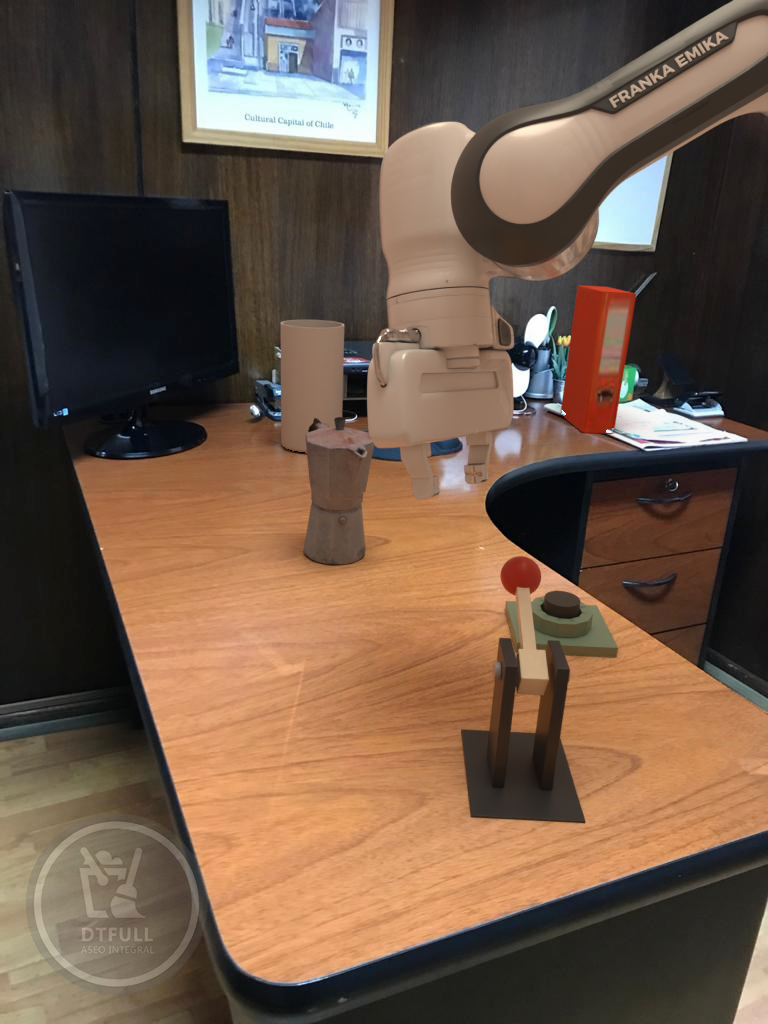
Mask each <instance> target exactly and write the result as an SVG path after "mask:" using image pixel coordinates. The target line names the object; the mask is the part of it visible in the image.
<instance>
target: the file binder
mask: <svg viewBox="0 0 768 1024" xmlns="http://www.w3.org/2000/svg"><path fill="white" fill-rule="evenodd" d="M636 299H637V293H635V292H630V291H626V290H622V289H618V288H614V287H609V286H599V285H598V286H597V285H581V284H579V285H577V288H576V295H575V303H574V310H573V317H572V325H571V333H570V340H569V346H568V347H569V348H568V354H567V361H566V370H565V376H564V384H563V385H564V386H563V391H562V400H561V406H560V410H561V409H562V410H563V411H564V412H565V413H566V415H565V416H564V417H563V418H564V419H565V420H566V421H567V422H569V423H570V424H571V425H572V426H574V427H575V428H576V429H578V430H579V431H580V432H581V433H584V434H606V430H607V429H612V428H616V421H617V417H618V416H617V415H618V409H619V404H620V399H621V398H620V397H621V391H622V385H623V379H624V372H625V368H626V367H625V366H626V360H627V354H628V348H629V341H630V336H631V330H632V324H633V316H634V310H635V306H636V305H635V304H636Z"/></svg>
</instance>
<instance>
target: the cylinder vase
mask: <svg viewBox="0 0 768 1024" xmlns="http://www.w3.org/2000/svg"><path fill="white" fill-rule="evenodd" d="M344 353H345V324H344V323H342V322H338V321H334V320H325V319H324V320H323V319H290V320H283V321H280V443H281V445H282V447H283V448H284V447H285V449H286V450H288V449H289V450H288V451H290V450H292V451H291V452H294V451H298V452H307V448H306V438H305V435H306V433H308V430H309V427H310V426H311V425H312V424H313V421H314V418H317V419H319V421H320V422H321V423H326V424H328V425H329V426H330V427H336V426H335V421H334V419H335V418H337V417H343V401H344V399H343V397H344V391H343V390H344V361H345V360H344ZM298 452H297V453H298Z"/></svg>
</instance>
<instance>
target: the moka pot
mask: <svg viewBox="0 0 768 1024" xmlns="http://www.w3.org/2000/svg"><path fill="white" fill-rule="evenodd" d="M334 421H335V426H336V427H330V426H329V425H328V424H326V423H321V422H320V421H319V419H317V418H314V421H313V424H312V425H311V426H310V427H309V430H308V433H306V435H305V438H306V448H307V453H306V455H307V456H306V458H307V467H308V468H307V469H308V479H309V486H310V491H311V492H310V496H311V497H310V500H311V503H310V510H309V515H308V522H307V529H306V533H305V538H304V545H303V553H304V554H305V556H306V557H308V559H310V560H312V561H314V562H317V563H320V564H323V565H330V566H334V565H335V566H336V565H337V566H342V565H349V564H352V563H356V562H358V561H359V560H361V559H363V557H365V555H366V541H365V540H366V539H365V527H364V517H363V516H364V515H363V505H362V504H363V500H364V493H366V490H367V487H368V480H369V475H370V469H371V463H372V458H373V454H374V448H375V445H374V443H373V441H372V440H371V438H370V436H369V432H367V431H364V430H360V429H357V428H353V427H345V425H346V421H347V419H346V417H344V416H342V417H337V418H335V419H334Z"/></svg>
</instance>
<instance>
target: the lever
mask: <svg viewBox="0 0 768 1024" xmlns="http://www.w3.org/2000/svg"><path fill="white" fill-rule="evenodd" d="M499 575H500V582H501V585H502V588H503V589H505V591H506V592H508V593H509V594H511V595H512V596H515V601H516V605H517V615H518V625H519V636H520V646H521V649H518V653H517V652H516V655H515V656H516V660H517V664H518V673H517V682H516V690H515V692H516V694H517V695H527V696H540V695H544V693H545V690H546V687H547V684H548V681H549V675H548V667H547V659H546V651H545V650H537V649H536V640H535V632H534V623H533V615H532V606H531V602H532V598H531V595H532V594H533V593H534V592H536V591H537V590H538V588H539V587H540V585H541V581H542V572H541V569H540V567H539V565H538V564H537V562H536V561H535V560H534V559H532V558H530V557H527V556H523V555H518V556H517V555H516V556H514V557H511V558H509V559H508V560H507V561H506V562H505V563H504V564H503V566H502V567H501V570H500V574H499Z"/></svg>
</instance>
